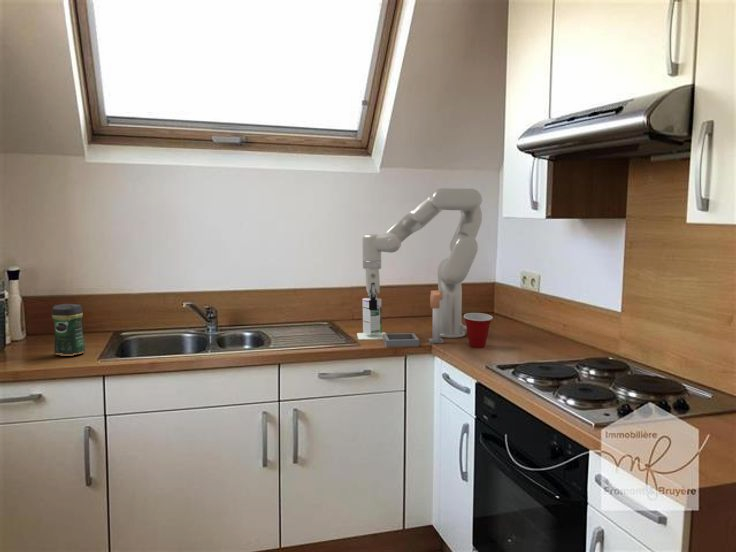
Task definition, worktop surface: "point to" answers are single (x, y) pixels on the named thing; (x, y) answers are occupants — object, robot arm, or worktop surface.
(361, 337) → the mat
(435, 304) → the orange bar
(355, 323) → the worktop surface
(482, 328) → the plastic cup
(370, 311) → the syrup box
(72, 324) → the coffee jar
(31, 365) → the worktop surface
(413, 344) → the socket
